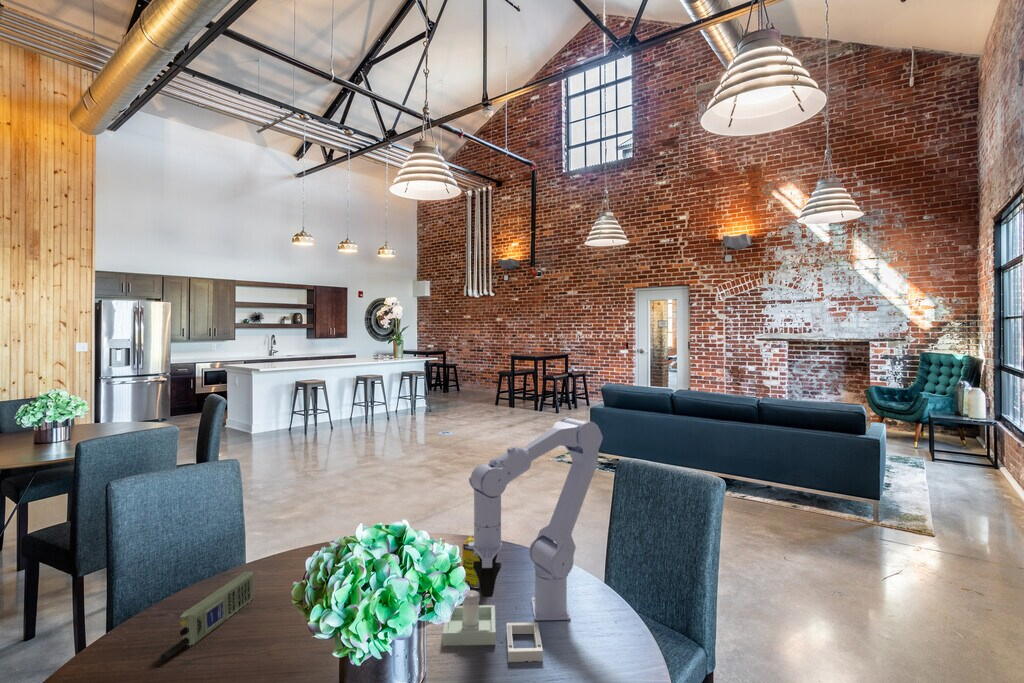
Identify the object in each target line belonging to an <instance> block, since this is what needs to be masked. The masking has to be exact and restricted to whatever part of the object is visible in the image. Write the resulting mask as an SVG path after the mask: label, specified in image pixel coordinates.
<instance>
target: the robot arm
mask: <svg viewBox="0 0 1024 683" xmlns="http://www.w3.org/2000/svg"><path fill="white" fill-rule="evenodd" d="M599 427H600V426H599V425H598V424H597V423H595V422H594V421H586V420H582V419H576V418H573V417H571V416H566V417H565V416H564V417H563V418H561V419H560V421H559V420H557V421H555V422H554V423H553V425H552V427H551V428H549V429H548V430H546V431H545V432H544V433H542V434H541V435H540V436H538V437H537V438H535V439H534V440H533V441H531V442H530V443H528V444H527V445H526V446H525V445H524V447H521V446H517V445H516V446H514V447H513V446H509V447H508V448H507V449H506V451H505V453H502V454H501V455H499V456H498V457H497V458H495V459H494V458H492V459H489V462H488V464H487V463H485V464H484V463H481V464H479V465H477V466H476V467H475V468H474V469H473V471H472V472H471V475H470V477H469V478H468V481H469V482H468V483H469V484H470V486H471V487H472V489H473V499H474V501H473V527H474V528H473V536H474V542H469V545H468V548H469V549H474V550H475V551H476V553H477V554H478V557H479V560H480V561H474V562H473V568H474V570H475V572H476V574H477V576H478V579H479V584H480V589H479V590H480V595H481V598H492V597H493V595H494V592H495V586H496V580H497V578H498V577H497V576H498V574H499V572H500V570H501V568H502V562H496V561H497V557H498V554H499V553H500V551H501V550H502V547H503V543H502V494H503V493H504V492H505V489H506V487H507V486H508V484H510V482H512V481H514V480H515V479H517V478H518V477H520V476H522V474H524V473H525V472H527V471H529V470H530V468H531V465H532V462H533V461H535V460H537V459H538V458H541V457H542V456H543V455H546V454H547V453H549V452H551V451H553V450H554V449H557V448H558V447H560V446H562V447H565V449H566V450H567V451H568V452H569V455H570V457H571V460H572V462H571V466H570V468H569V471H568V474H567V475H566V479H565V481H564V485H563V487H562V490H561V493H560V495H559V497H558V500H557V501H556V504H555V505H556V506H555V509H554V511H553V514H552V516H551V519H550V522H549V524H548V525H546V526H544V527H542V528H541V529H540V530H539V531H538V534H537V536H536V537H535V539H534V540H533V541H532V542H531V544H530V545H529V549H528V554H529V558H530V561H532V562H533V567H534V597H531V606H532V612H533V619H534V621H569V620H571V619H572V617H571V613H570V611H569V610H570V609H569V608H568V603H567V594H568V593H567V590H568V587H567V586H568V582H567V581H568V578H567V577H568V576H569V574H570V573H571V571H572V570H573V567H574V556H575V555H574V554H575V552H576V549H577V547H576V544H575V541H574V538H573V536H572V534H573V531H574V528H575V526H576V523H577V520H578V517H579V514H580V512H581V509H582V506H583V505H584V501H585V498H586V496H587V493H588V491H589V490H588V489H589V487H590V484H591V482H592V479H593V476H594V474H595V471H596V468H597V466H598V462H599V449H600V447H601V444H602V442H603V439H604V437H603V434H602V431H601V429H600V428H599Z"/></svg>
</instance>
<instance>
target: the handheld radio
mask: <svg viewBox="0 0 1024 683" xmlns="http://www.w3.org/2000/svg"><path fill="white" fill-rule="evenodd" d="M253 572H254V571H244V572H242V573H241V574H240V575H238V576H237V577H236V578H234V579H232V580H231V581H228V583H226V584H225V585H223V586H222V587H220V588H218V589H217V590H216V591H215V592H212V593H211V594H210V595H208V596H206V597H205V598H204V599H202V600H201V601H199V602H198V603H196V604H194V605H193V606H191V607H190V608H188V609H187V610H186V611H184V612H183V613H182V614H181V615H180V616H179V618H181V619H182V620H180V625H181V626H182V627H181V630H180V631H179V635H180V636H181V637H182V639H181V640H180V642H177V643H176V644H175V645H173V646H172V647H170V648H169V649H168V650H166V651H165V652H164V653H162V654H161V655H160V659H161V661H162V662H165V661H167V660H168V659H170V658H171V657H172V656H173V655H175V654H176V653H177V652H179V651H180V650H181V649H183V648H184V647H186V646H185V645H189V646H188V647H192V646H191V645H193V646H194V645H195V644H196V643H198V642H199V641H200V640H202V639H203V638H205V637H206V636H208V635H209V634H210V633H211V632H213V631H214V630H215V629H217V627H219V626H220V625H221V624H223V623H224V622H225V620H226V621H227V620H228V619H230V618H231V617H232V616H234V615H235V614H236V613H237V612H239V611H240V610H241V609H243V608H244V607H245V606H246V604H247V603H248V604H249V603H251V602H252V601H253V600H254V596H255V595H254V573H253ZM252 599H253V600H252ZM251 600H252V601H251ZM248 604H247V605H248ZM243 606H244V607H243ZM242 607H243V608H242ZM240 608H241V609H240ZM239 609H240V610H239ZM238 610H239V611H238ZM235 612H236V613H235ZM234 613H235V614H234ZM230 616H231V617H230ZM229 617H230V618H229Z"/></svg>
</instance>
